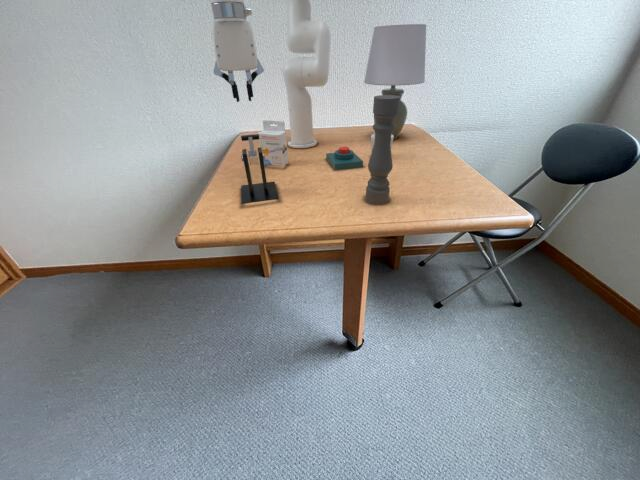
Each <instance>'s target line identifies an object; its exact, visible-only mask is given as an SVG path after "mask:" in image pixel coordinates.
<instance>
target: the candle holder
mask: <svg viewBox="0 0 640 480" xmlns="http://www.w3.org/2000/svg"><path fill="white" fill-rule="evenodd" d="M399 103H400V96H395V95H382V94H381V95H375V96H374V97H373V107H372V113H373V119H374V118H375V121H376V123H375V124H374V123H373V125H372V130H373V131H374V134H375V141H374V147H373V150H372V153H370V156H369V160H368V163H367V169H368V172H369V174H370V178H369V180H367V186H365V201H366V202H367V203H369V204H371V205H378V206H379V205H384V204H386V203H388V202H389V199H390V190H391V188H390V181H389V179H388V177H389V174H390V173H391V172H392V170H393V166H394V165H393V158H392V157H393V156H392V147H391V146H390V144H391V135H392V132H393V130H394V129H395V125H394V124H393V121H394V119H395V118H396V117H397V113H398V111H399Z"/></svg>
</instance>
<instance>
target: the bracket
mask: <svg viewBox="0 0 640 480" xmlns="http://www.w3.org/2000/svg"><path fill="white" fill-rule="evenodd" d="M241 151H242V153H241V154H242V155H241V156H240V157H241V159H240V160H241V162H243V165H244V170H245V171H244V172H245V175H246V180H247V184H241V185H240V205H243V204H251V203H259V202H267V201H268V202H269V201H274V200H275V201H276V200H279V199H280V198H279V194H278V189H277V186H276V182H275V181H267V176H266V167H265V165H264V161H263V159H265V156H264V154H262V149H261V148H260V147H257V156H258V162H259V166H260V172H261V173H260V174H261V180H262V182H259V183H258V182H257V183H253V179H252V173H251V168H250V162H249V156H248V150H247V149H246V148H243V149H242V150H241Z"/></svg>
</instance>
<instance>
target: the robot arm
mask: <svg viewBox="0 0 640 480" xmlns="http://www.w3.org/2000/svg"><path fill="white" fill-rule="evenodd" d="M209 2H210V6H211V12H212V16H213V17H212V18H213V21H212V22H211V34H212V42H213V48H214V55H215V63H214V68H213V74H214V75H215V76H217V77H220V78H222V79H223V80H225V81H226V82H227V83H228V84H229V85H230V87H231V92H232V97H233V99H236V103H239V102H240V100H241V99H240V95H239V89H238V85H237V83H236V81H235V75H234V72H239V71H245V74H246V75H245V77H246V83H245V86H246V91H247V98H248V102H252V98H254V91H253V90H254V89H253V83H254V81H255V79H256V78H257V77H258V76H259V75H261V74H263V73H264V72H265V69H264V67H263V65H262V64H261V61H260V59H259V58H258V53H257V47H256V42H255V37H254V33H253V29H252V25H251V22H250V21H248V20H247V18H248V17H249V16H252V14H253V13H252V8H251V7H246V6H247V5H246V6H245V1H244V0H209ZM285 4H286V43H287V49H288V50H289V51H290V52H291V53H293V54H298V55H300V54H302V55H303V54H315V56H295V57H294V56H293V57H289V58H287V59H286V60H284V62H283V63H282V69H281V71H282V77H283V81H284V86H285V90H286V96H287V107H288V109H287V110H288V119H289V131H290V132H289V133H290V140H289V141H287V147H290V148H293V149H309V148H313V147H315V146H317V144H318V140H317V139H315V138H314V128H313V127H314V125H313V107H312V106H313V103H312V96H311V95H310V93H309V90H307V88H316V87H317V88H319V87H320V88H321V87H324V86H326V85H327V83H328V81H329V75H330V59H331V57H330V56H331V30H330V27H329V24H328V23H327V22H326V21H325V20H322V19H315V20H312V5H311V2H310V0H285ZM252 70H254V71H252ZM251 71H252V72H251ZM226 72H227V73H226Z"/></svg>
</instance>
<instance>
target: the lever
mask: <svg viewBox="0 0 640 480" xmlns="http://www.w3.org/2000/svg"><path fill="white" fill-rule="evenodd" d="M240 139H241V141H242V142H247V141H248V145H249V150H247V157H248V162H249V166H252V165H259V157H258V151H257V150H255V146H254V141H257V140H258V139H259V134H258V133H256V134H245V135H244V134H243V135H240ZM258 141H259V140H258Z"/></svg>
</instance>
